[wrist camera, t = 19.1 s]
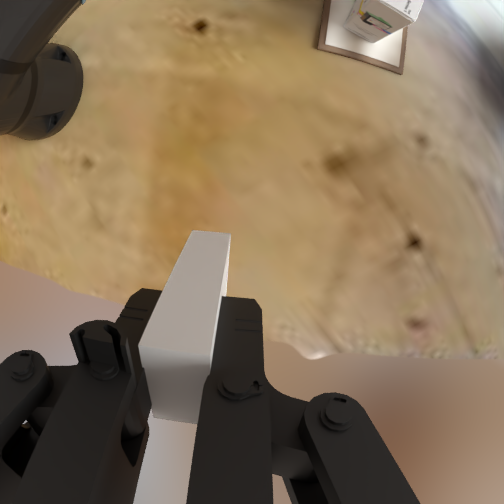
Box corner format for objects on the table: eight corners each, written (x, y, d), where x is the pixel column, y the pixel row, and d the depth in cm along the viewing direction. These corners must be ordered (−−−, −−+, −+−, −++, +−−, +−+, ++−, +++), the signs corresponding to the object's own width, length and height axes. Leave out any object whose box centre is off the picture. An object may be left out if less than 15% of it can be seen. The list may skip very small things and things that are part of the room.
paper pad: (317, 49, 31) (318, 47, 30) (328, -36, 25) (330, -39, 24) (400, 74, 32) (403, 74, 31) (407, -9, 26) (409, -11, 25)
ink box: (361, -16, 26) (394, -51, 15) (392, 2, 26) (434, -25, 16) (340, 27, 29) (373, -4, 18) (374, 45, 30) (416, 24, 19)
